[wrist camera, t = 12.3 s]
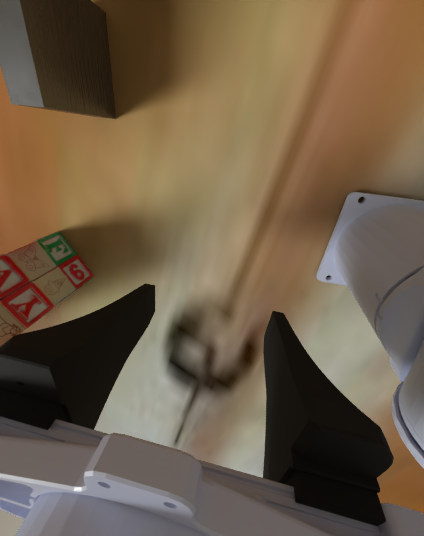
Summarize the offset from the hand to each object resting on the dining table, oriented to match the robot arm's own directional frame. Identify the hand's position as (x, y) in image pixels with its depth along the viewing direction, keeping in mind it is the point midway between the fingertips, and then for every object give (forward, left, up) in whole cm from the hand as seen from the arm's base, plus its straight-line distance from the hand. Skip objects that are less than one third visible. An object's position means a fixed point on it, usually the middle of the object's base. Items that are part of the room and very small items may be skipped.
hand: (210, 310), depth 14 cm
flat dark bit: (+12, -13, -9) cm, 20 cm away
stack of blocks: (+26, +9, -10) cm, 29 cm away
